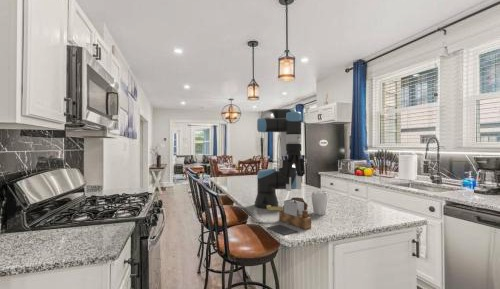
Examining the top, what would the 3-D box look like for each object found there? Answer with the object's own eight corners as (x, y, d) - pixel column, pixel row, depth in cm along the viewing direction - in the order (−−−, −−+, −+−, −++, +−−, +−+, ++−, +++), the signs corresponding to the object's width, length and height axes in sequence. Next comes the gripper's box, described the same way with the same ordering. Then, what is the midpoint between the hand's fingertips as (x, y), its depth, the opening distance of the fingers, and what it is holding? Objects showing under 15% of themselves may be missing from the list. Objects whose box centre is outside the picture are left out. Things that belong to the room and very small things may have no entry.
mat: (267, 228, 124) (267, 227, 124) (279, 225, 128) (279, 224, 128) (284, 235, 114) (284, 234, 114) (297, 231, 118) (297, 230, 118)
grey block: (283, 212, 132) (283, 199, 132) (291, 211, 135) (291, 198, 135) (296, 216, 125) (296, 202, 125) (304, 214, 128) (304, 201, 128)
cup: (326, 211, 154) (326, 191, 154) (329, 215, 145) (329, 193, 145) (310, 211, 155) (310, 190, 155) (312, 215, 146) (312, 193, 146)
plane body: (279, 220, 136) (279, 205, 136) (284, 219, 138) (284, 203, 138) (305, 229, 121) (305, 212, 121) (311, 228, 124) (311, 211, 124)
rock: (284, 212, 151) (284, 195, 151) (303, 212, 152) (303, 195, 152) (290, 219, 138) (290, 200, 138) (310, 219, 138) (310, 200, 138)
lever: (267, 208, 139) (267, 204, 139) (282, 209, 137) (282, 205, 137) (266, 209, 137) (266, 205, 137) (282, 210, 135) (282, 206, 135)
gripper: (284, 143, 121) (284, 193, 121) (312, 143, 133) (312, 188, 133) (273, 143, 128) (273, 190, 128) (301, 143, 139) (301, 186, 139)
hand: (293, 189), depth 130 cm, fingers open, 6 cm apart
